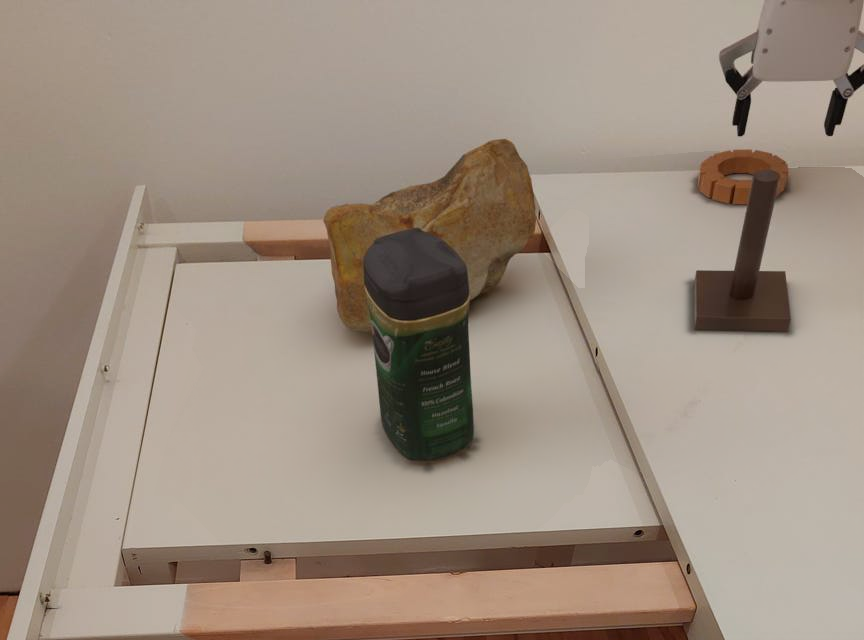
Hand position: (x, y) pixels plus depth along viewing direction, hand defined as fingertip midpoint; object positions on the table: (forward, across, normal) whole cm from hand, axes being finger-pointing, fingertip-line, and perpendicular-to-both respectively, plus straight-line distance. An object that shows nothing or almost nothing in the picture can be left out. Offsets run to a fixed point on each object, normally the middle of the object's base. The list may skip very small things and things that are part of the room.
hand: (783, 131), depth 108 cm
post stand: (+6, +5, +27) cm, 28 cm away
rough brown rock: (+7, +38, +25) cm, 46 cm away
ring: (+6, +4, 0) cm, 7 cm away
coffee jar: (+6, +34, +50) cm, 61 cm away
